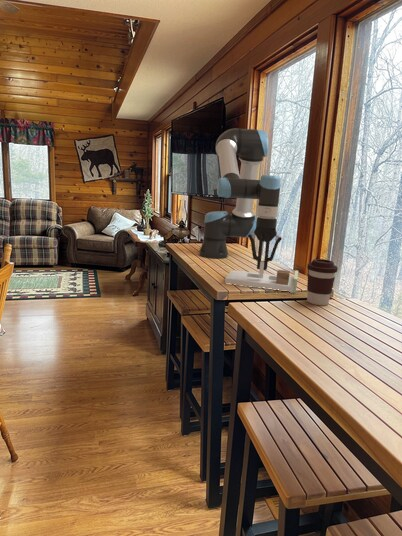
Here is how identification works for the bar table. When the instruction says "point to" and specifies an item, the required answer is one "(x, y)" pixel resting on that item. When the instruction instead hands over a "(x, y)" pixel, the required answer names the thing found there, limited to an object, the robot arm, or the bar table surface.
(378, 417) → the bar table surface
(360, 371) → the bar table surface
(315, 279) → the coffee cup
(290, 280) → the board
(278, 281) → the block
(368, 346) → the bar table surface
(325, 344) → the bar table surface
